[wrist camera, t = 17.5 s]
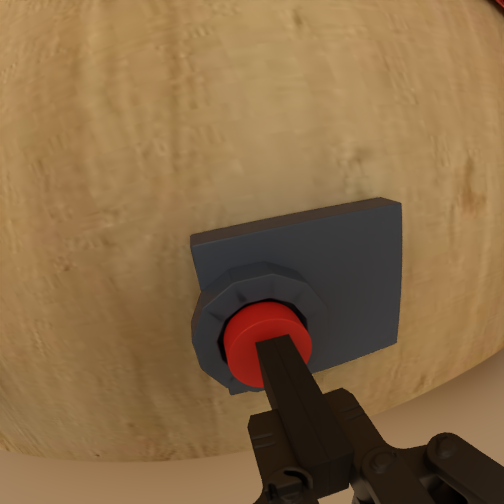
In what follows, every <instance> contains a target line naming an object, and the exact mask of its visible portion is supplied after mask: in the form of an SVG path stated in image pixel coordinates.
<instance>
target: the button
mask: <svg viewBox="0 0 504 504" xmlns="http://www.w3.org/2000/svg"><path fill="white" fill-rule="evenodd" d="M286 334H289V335H290V337H291V339H292V341H293V342H294V344H295V346H296V348H297V349H298V351H299V353H300V355H301V357H302V358H303V360H304V362H305V364H307V362H308V360H309V358H310V355H311V350H312V343H311V338H310V335H309V334H308V332H307V330H306V329H305V327H304V326H303V324H302V323H301V321H300V320H299V318H298V317H297V315H296V314H295V313H294V312H293V311H292V310H291V309H290V308H288V307H287V306H285V305H283V304H280V303H276V302H259V303H255V304H251V305H249V306H247V307H245V308H243V309H241V310H240V311H239V312H237V313H236V314H235V315H234V316H233V317H232V318H231V320H230V321H229V323H228V324H227V326H226V328H225V332H224V337H223V342H224V347H225V352H226V357H227V361H228V366H229V368H230V371H231V372H232V374H233V375H234V376H235V378H237V379H238V380H239V381H241V382H242V383H244V384H246V385H249V386H253V387H261V388H263V387H264V385H263V380H262V375H261V370H260V365H259V360H258V355H257V350H256V345H255V342H259V341H263V340H267V339H271V338H275V337H279V336H282V335H286Z"/></svg>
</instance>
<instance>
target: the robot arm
mask: <svg viewBox="0 0 504 504" xmlns="http://www.w3.org/2000/svg"><path fill="white" fill-rule="evenodd" d="M255 345H256V350H257V355H258V360H259V365H260V370H261V375H262V380H263V385H264V388H265V391H266V394H267V397H268V400H269V403H270V405H271V408H272V410H271V411H267V412H263V413H259V414H255V415H251V416H250V419H249V423H248V431H249V435H250V439H251V443H252V446H253V450H254V453H255V457H256V461H257V465H258V468H259V472H260V475H261V479H262V483H263V489H262V493H261V495H260V497H259V498H258V499H257V501H256V502H255V503H253V504H319V502H318V500H317V499H319V498H322V497H325V496H328V495H331V494H334V493H337V492H339V491H342V490H345V489H347V488H348V487H349V483H350V484H351V486H352V488H353V490H354V496H353V500H352V504H504V467H503V466H502V465H500V464H499V463H497V462H496V461H494V460H493V459H491V458H490V457H488V456H486V455H485V454H484V453H482V452H481V451H479V450H478V449H476V448H475V447H473V446H472V445H470V444H469V443H468V442H466V441H465V440H463V439H462V438H460V437H459V436H457V435H455V434H452V433H446V432H444V433H440V434H437V435H436V436H434V437H432V438H431V440H430V441H429V443H428V444H427V445H423V446H418V447H413V448H407V449H400V448H395V447H392V446H390V445H389V444H387V443H386V442H385V441H384V440H383V438H382V437H381V435H380V434H379V432H378V431H377V429H376V428H375V426H374V425H373V424H372V422H371V420H370V419H369V417H368V416H367V414H365V411H364V410H363V408H362V407H361V406H360V405H359V403H358V401H357V400H356V398H355V397H354V395H353V394H352V393H350V392H348V391H347V390H345V389H344V388H339V389H337V390H334V391H331V392H328V393H325V394H322V392H321V390H320V388H319V387H318V385H317V383H316V381H315V380H314V378H313V376H312V374H311V373H310V371H309V369H308V367H307V365H306V364H305V362H304V360H303V358H302V357H301V355H300V353H299V351H298V349H297V348H296V346H295V344H294V342H293V341H292V339H291V337H290V335H289V334H286V335H282V336H279V337H275V338H271V339H267V340H263V341H259V342H255Z"/></svg>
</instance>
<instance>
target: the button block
mask: <svg viewBox="0 0 504 504" xmlns="http://www.w3.org/2000/svg"><path fill="white" fill-rule="evenodd" d="M190 248H191V252H192V256H193V261H194V265H195V269H196V273H197V277H198V281H199V285H200V289H201V294H200V296H199V299H198V303H197V306H196V309H195V312H194V315H193V318H192V321H191V332H192V343H193V346H194V349H195V352H196V355H197V358H198V361H199V364H200V367H201V369H202V370H203V371H204V372H206V373H207V374H208V375H210V376H211V377H212V378H214V379H215V380H217V381H218V382H219V383H221V384H222V385H223V386H225V387H226V388H228V389H229V392H230V395H235V394H239V393H243V392H248V391H252V392H259V391H263V390H265V388H264V387H263V388H261V387H253V386H249V385H246V384H244V383H242V382H241V381H239V380H238V379H237V378H235V376H234V375H233V374H232V372H231V371H230V368H229V366H228V361H227V357H226V352H225V347H224V342H223V337H224V332H225V328H226V326H227V324H228V323H229V321H230V320H231V318H232V317H233V316H234V315H235V314H236V313H237V312H239V311H240V310H241V309H243V308H245V307H247V306H249V305H251V304H255V303H259V302H276V303H280V304H283V305H285V306H287V307H288V308H290V309H291V310H292V311H293V312H294V313H295V314H296V315H297V317H298V318H299V320H300V321H301V323H302V324H303V326H304V327H305V329H306V330H307V332H308V334H309V335H310V338H311V343H312V350H311V355H310V358H309V360H308V362H307V364H306V365H307V367H308V369H309V371H310V373H311V374H312V373H316V372H319V371H322V370H325V369H328V368H331V367H334V366H337V365H340V364H343V363H345V362H348V361H351V360H354V359H357V358H359V357H362V356H365V355H367V354H370V353H373V352H375V351H378V350H380V349H383V348H385V347H388V346H390V345H393V344H395V343H396V342H397V334H398V324H399V312H400V298H401V279H402V206H401V203H400V202H396V201H393V200H389V199H386V198H382V197H380V198H374V199H369V200H363V201H357V202H352V203H346V204H341V205H336V206H330V207H325V208H320V209H314V210H309V211H304V212H299V213H294V214H289V215H284V216H279V217H274V218H269V219H264V220H259V221H254V222H249V223H244V224H240V225H235V226H230V227H225V228H221V229H216V230H211V231H207V232H202V233H198V234H193V235H191V236H190Z"/></svg>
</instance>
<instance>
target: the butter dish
mask: <svg viewBox="0 0 504 504" xmlns="http://www.w3.org/2000/svg"><path fill="white" fill-rule="evenodd" d="M496 1H497V2H498V3H499V4H500V5H501V6H502V7H503V8H504V0H496Z"/></svg>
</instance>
